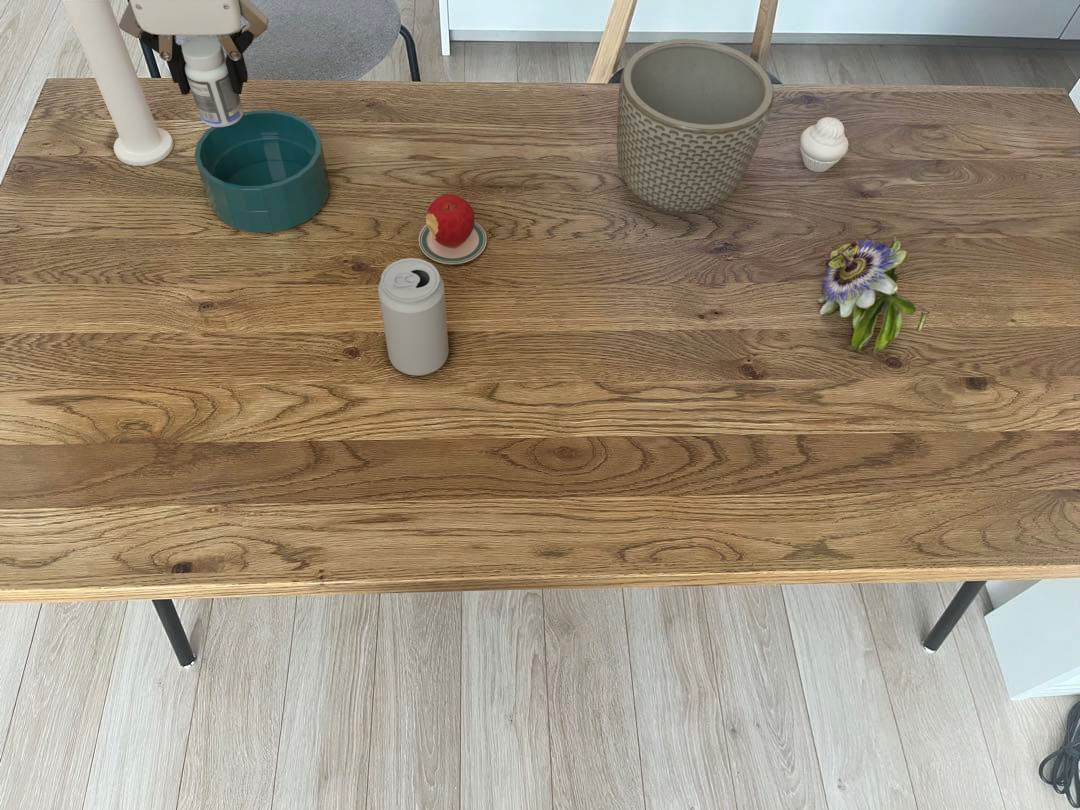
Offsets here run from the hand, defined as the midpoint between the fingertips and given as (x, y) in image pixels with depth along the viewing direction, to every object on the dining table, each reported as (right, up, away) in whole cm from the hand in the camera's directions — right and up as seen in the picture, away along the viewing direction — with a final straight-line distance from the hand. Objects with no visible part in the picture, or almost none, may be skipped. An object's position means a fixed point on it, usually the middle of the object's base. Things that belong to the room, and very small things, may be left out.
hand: (213, 85), depth 93 cm
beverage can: (+22, -29, 0) cm, 37 cm away
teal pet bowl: (+2, -9, +13) cm, 16 cm away
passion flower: (+72, -24, +6) cm, 76 cm away
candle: (-15, -2, +17) cm, 23 cm away
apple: (+25, -15, +10) cm, 31 cm away
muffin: (+72, -3, +21) cm, 75 cm away
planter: (+52, -8, +17) cm, 55 cm away
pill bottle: (0, -2, +3) cm, 4 cm away
